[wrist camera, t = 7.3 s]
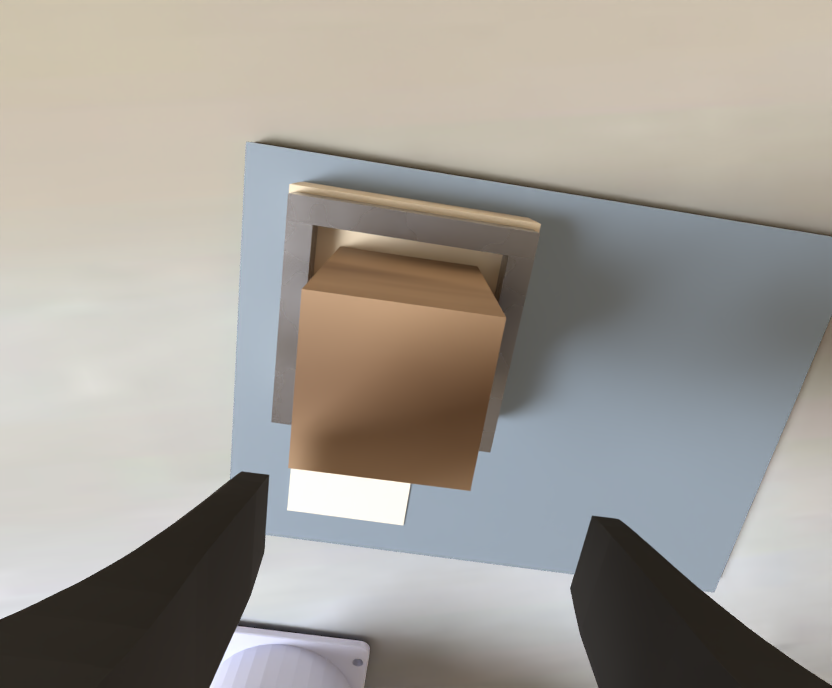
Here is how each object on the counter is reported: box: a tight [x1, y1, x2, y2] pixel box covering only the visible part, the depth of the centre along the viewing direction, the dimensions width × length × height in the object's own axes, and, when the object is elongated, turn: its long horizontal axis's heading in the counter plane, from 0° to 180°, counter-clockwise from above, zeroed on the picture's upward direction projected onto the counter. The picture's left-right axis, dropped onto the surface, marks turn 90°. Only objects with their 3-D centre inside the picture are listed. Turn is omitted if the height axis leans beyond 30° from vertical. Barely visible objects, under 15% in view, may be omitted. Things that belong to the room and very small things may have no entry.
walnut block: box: [288, 247, 506, 491], centre depth 15 cm, size 4×4×6 cm
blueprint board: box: [230, 142, 832, 592], centre depth 20 cm, size 16×22×4 cm
